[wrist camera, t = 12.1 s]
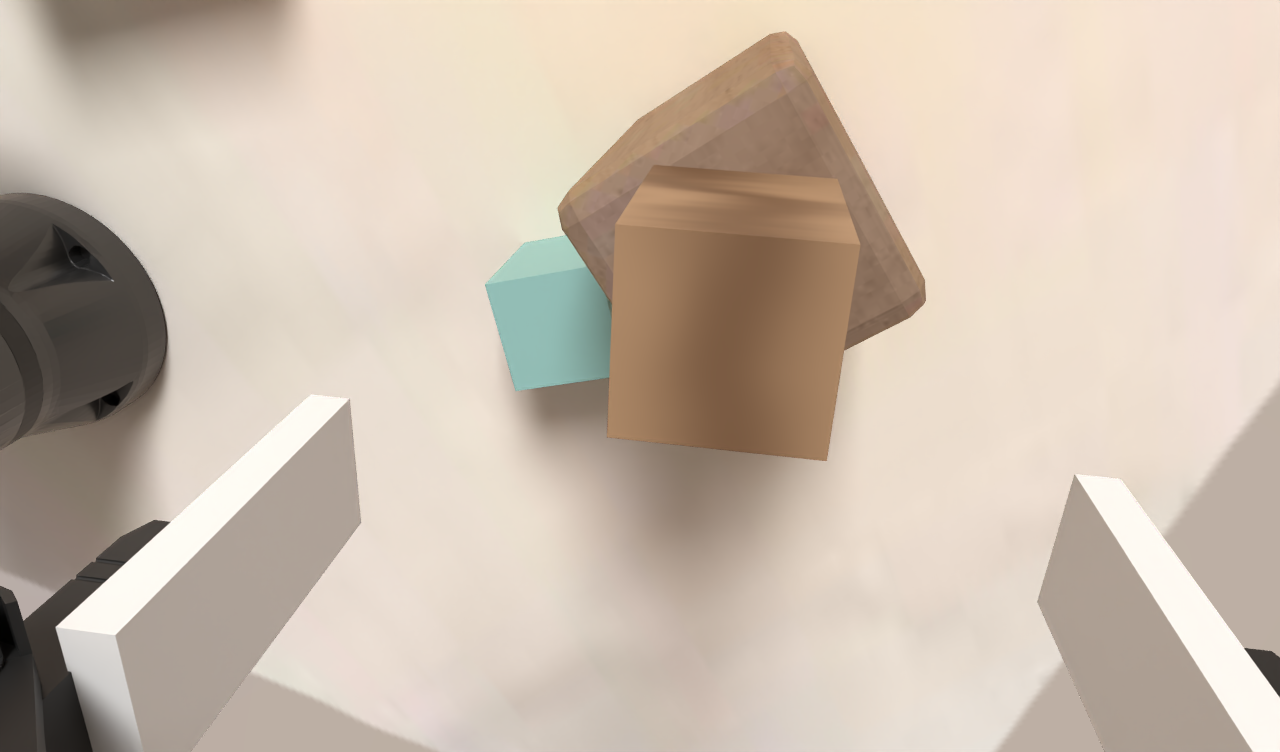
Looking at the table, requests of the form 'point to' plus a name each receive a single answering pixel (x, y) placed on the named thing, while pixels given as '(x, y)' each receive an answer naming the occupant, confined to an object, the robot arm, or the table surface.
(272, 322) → the table surface
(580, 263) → the teal block
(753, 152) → the block
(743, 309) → the walnut block
